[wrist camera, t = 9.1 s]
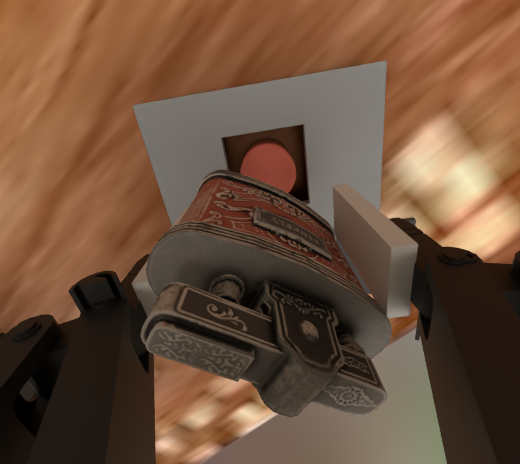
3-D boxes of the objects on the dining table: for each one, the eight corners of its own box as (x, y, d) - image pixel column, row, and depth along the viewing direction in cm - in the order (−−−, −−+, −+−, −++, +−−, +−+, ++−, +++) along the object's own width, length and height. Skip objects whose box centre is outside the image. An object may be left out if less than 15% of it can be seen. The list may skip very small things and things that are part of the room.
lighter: (344, 222, 15) (477, 398, 6) (312, 266, 16) (381, 468, 7) (213, 154, 13) (121, 258, 4) (189, 210, 15) (79, 381, 6)
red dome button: (247, 189, 28) (245, 205, 24) (239, 142, 26) (235, 150, 22) (292, 182, 28) (298, 197, 24) (287, 135, 26) (293, 141, 21)
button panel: (192, 234, 32) (181, 255, 27) (154, 105, 26) (132, 105, 21) (361, 210, 30) (378, 228, 26) (363, 68, 24) (386, 60, 20)
